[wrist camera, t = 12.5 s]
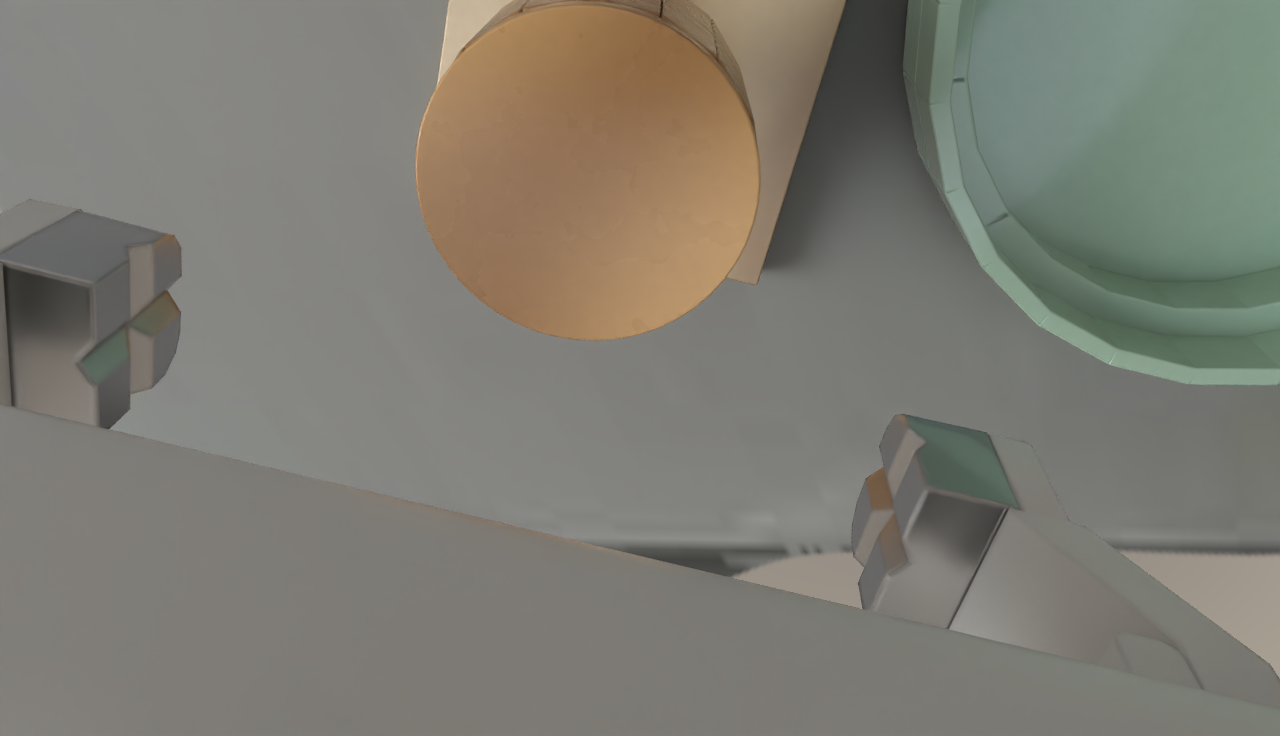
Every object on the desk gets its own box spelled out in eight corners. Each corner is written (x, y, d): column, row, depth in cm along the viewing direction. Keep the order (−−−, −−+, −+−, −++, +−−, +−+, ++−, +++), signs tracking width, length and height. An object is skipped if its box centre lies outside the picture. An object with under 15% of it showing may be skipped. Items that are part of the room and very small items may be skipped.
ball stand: (865, -81, 26) (945, -37, 17) (756, 271, 31) (771, 457, 22) (484, -182, 26) (351, -193, 17) (430, 190, 30) (303, 345, 21)
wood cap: (779, 9, 22) (805, 53, 17) (704, 275, 25) (710, 372, 20) (489, -64, 21) (440, -37, 17) (446, 216, 24) (395, 301, 20)
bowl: (1774, -271, 23) (1991, -293, 19) (1360, 371, 31) (1454, 450, 27) (1059, -475, 22) (1132, -542, 18) (819, 237, 30) (834, 297, 26)
